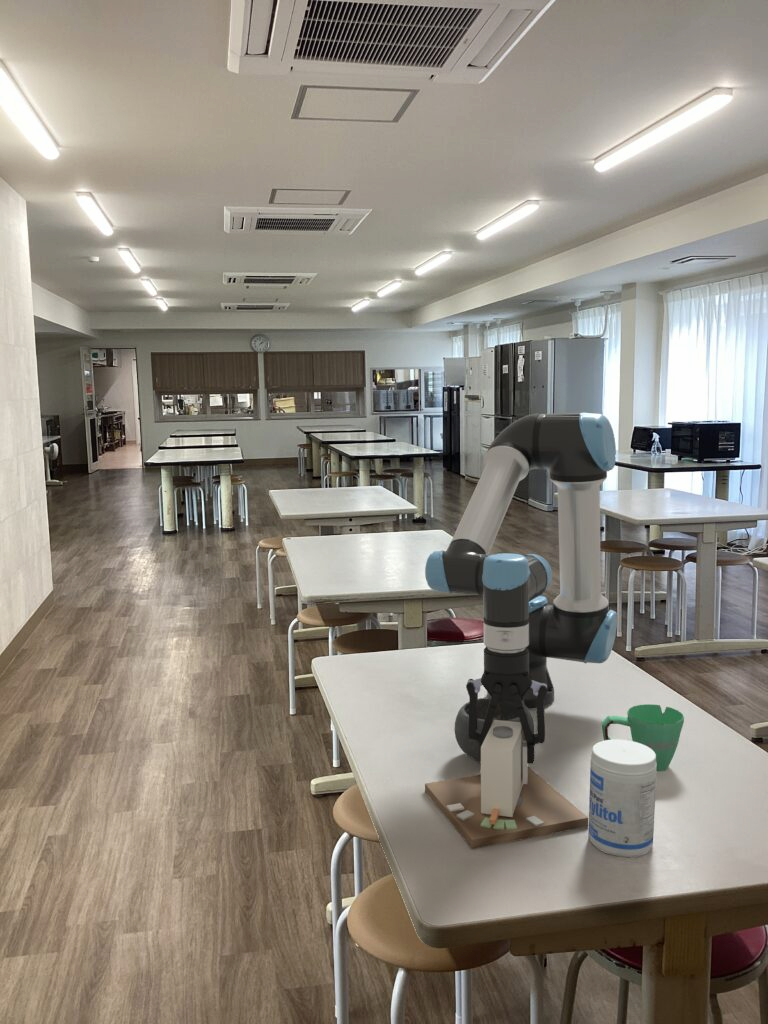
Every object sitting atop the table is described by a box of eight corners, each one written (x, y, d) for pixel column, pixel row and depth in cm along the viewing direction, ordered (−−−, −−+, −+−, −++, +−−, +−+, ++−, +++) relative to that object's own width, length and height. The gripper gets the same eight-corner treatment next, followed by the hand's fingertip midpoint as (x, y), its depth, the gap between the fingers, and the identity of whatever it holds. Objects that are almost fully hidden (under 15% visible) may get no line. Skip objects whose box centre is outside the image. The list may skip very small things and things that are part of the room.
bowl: (440, 751, 161) (440, 702, 159) (507, 738, 166) (507, 690, 165) (479, 783, 147) (479, 729, 146) (549, 767, 153) (550, 715, 152)
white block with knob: (494, 780, 144) (494, 715, 142) (523, 784, 142) (523, 718, 141) (476, 824, 129) (476, 752, 127) (508, 828, 127) (508, 755, 126)
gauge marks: (514, 795, 139) (514, 793, 139) (544, 824, 129) (544, 822, 129) (446, 807, 135) (446, 805, 135) (473, 838, 125) (473, 836, 125)
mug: (672, 754, 157) (673, 703, 156) (690, 777, 148) (691, 723, 146) (594, 755, 158) (595, 704, 157) (607, 778, 148) (608, 724, 147)
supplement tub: (577, 845, 126) (578, 752, 124) (605, 821, 133) (606, 733, 131) (638, 867, 119) (641, 770, 118) (664, 840, 127) (666, 748, 125)
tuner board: (528, 774, 150) (528, 765, 150) (588, 826, 131) (588, 816, 131) (425, 791, 144) (424, 782, 144) (472, 849, 125) (472, 838, 125)
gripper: (448, 651, 137) (450, 785, 140) (562, 655, 133) (562, 793, 136) (454, 639, 144) (456, 766, 147) (562, 642, 140) (562, 773, 143)
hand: (507, 779), depth 141 cm, fingers open, 5 cm apart
